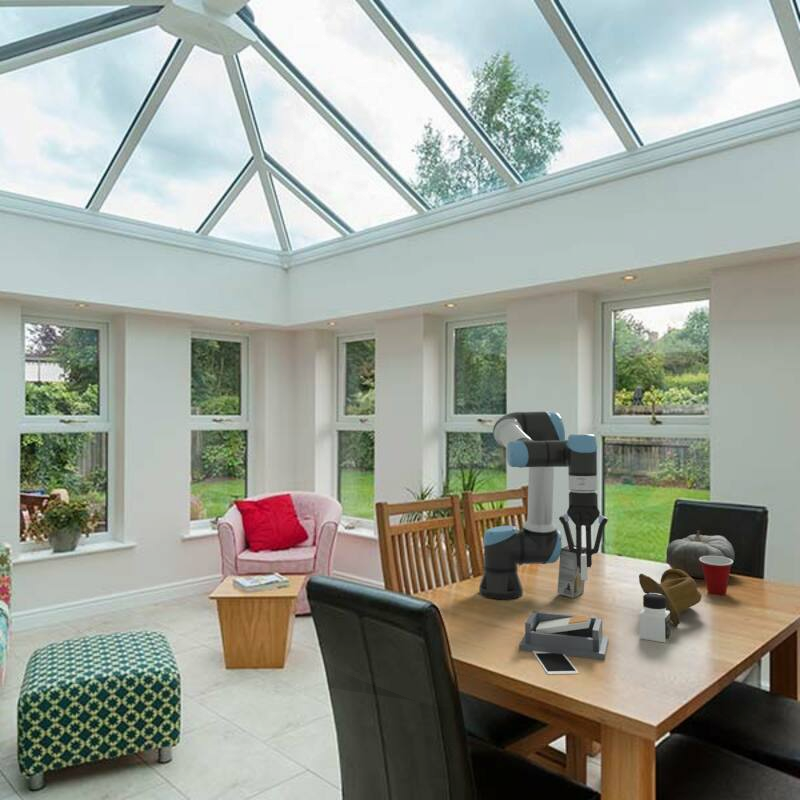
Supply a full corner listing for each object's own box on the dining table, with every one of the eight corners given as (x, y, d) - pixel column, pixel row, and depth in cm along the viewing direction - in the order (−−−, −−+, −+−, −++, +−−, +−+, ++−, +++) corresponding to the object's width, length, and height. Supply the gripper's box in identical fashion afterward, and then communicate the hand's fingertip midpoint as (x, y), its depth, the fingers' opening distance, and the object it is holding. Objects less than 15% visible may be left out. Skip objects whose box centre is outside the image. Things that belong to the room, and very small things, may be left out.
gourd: (748, 567, 261) (739, 524, 261) (724, 589, 244) (714, 543, 244) (685, 564, 280) (677, 523, 279) (659, 584, 263) (650, 541, 262)
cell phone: (561, 652, 178) (561, 650, 178) (579, 675, 162) (579, 673, 162) (532, 653, 178) (532, 650, 178) (547, 676, 162) (547, 673, 162)
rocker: (536, 635, 181) (535, 628, 181) (541, 627, 187) (539, 621, 188) (588, 627, 176) (586, 621, 176) (591, 620, 183) (589, 613, 183)
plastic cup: (700, 595, 231) (699, 560, 231) (699, 588, 241) (698, 554, 241) (735, 598, 227) (734, 563, 227) (732, 590, 237) (732, 556, 237)
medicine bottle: (666, 643, 183) (665, 599, 184) (639, 638, 187) (638, 595, 187) (670, 635, 189) (670, 593, 190) (644, 631, 193) (644, 590, 193)
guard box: (519, 649, 179) (518, 623, 179) (528, 633, 192) (528, 609, 192) (604, 660, 171) (604, 632, 171) (608, 642, 184) (608, 617, 184)
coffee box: (567, 588, 240) (570, 543, 240) (584, 592, 236) (587, 547, 236) (556, 593, 233) (560, 548, 232) (573, 598, 229) (577, 552, 228)
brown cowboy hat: (602, 583, 212) (654, 558, 227) (621, 634, 209) (673, 605, 224) (660, 575, 193) (713, 548, 208) (682, 631, 190) (734, 599, 205)
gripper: (556, 491, 179) (557, 580, 179) (607, 493, 175) (608, 584, 174) (560, 489, 186) (561, 574, 186) (609, 490, 182) (610, 577, 181)
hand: (584, 578), depth 180 cm, fingers closed
